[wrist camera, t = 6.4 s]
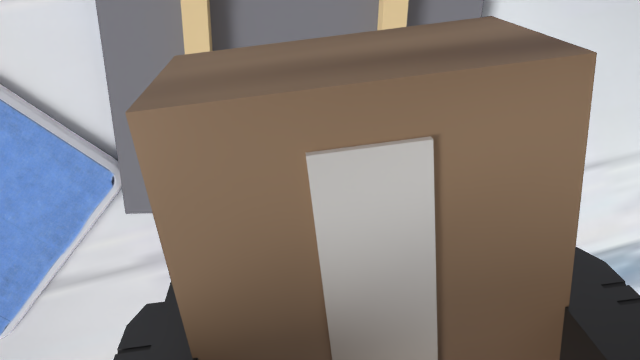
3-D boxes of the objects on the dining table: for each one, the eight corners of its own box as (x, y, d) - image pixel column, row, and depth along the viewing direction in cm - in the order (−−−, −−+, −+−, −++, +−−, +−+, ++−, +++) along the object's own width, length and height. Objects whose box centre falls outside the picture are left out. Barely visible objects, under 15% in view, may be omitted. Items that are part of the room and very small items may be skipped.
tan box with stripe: (174, 55, 8) (122, 115, 5) (491, 16, 8) (601, 54, 6) (263, 453, 12) (259, 611, 9) (480, 422, 12) (543, 568, 9)
